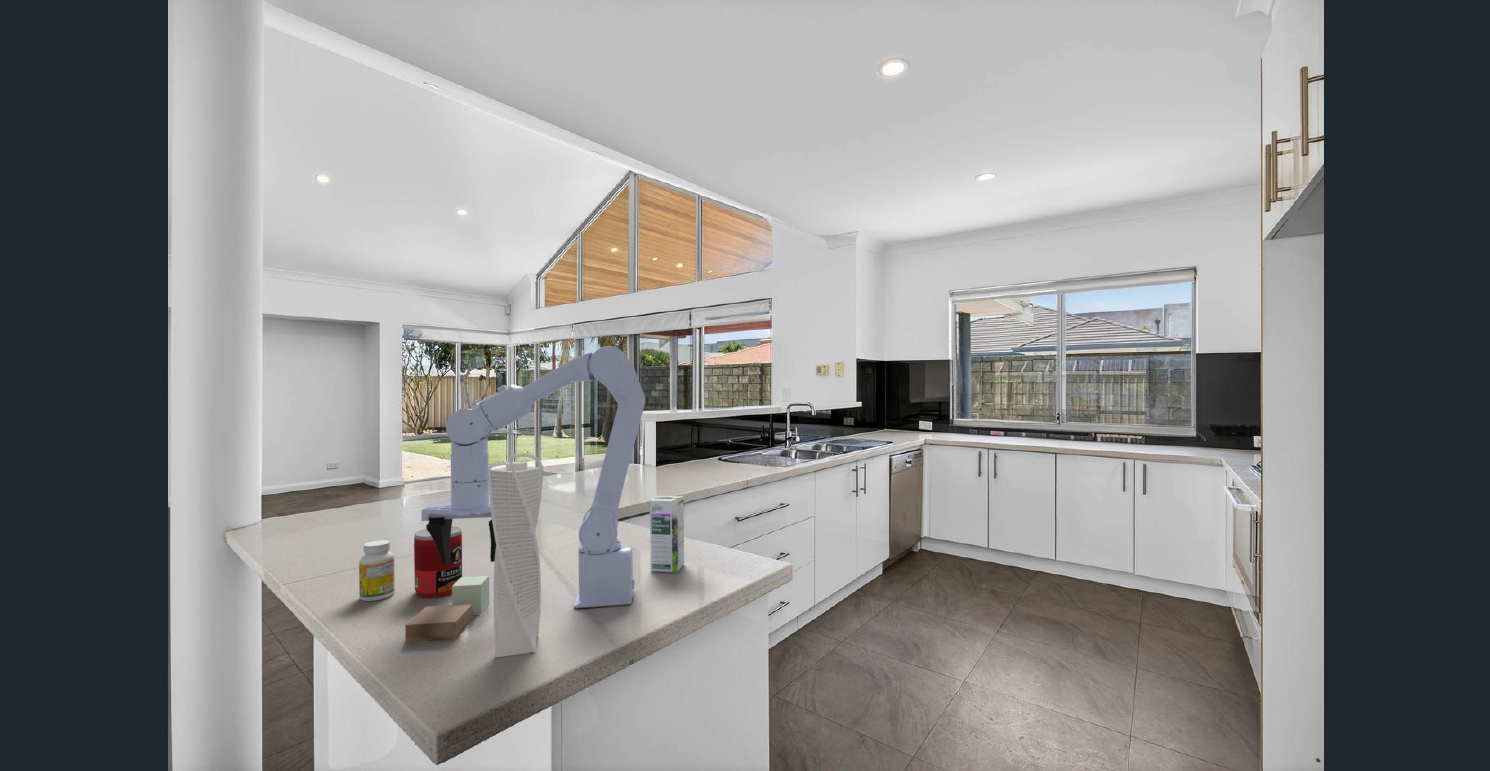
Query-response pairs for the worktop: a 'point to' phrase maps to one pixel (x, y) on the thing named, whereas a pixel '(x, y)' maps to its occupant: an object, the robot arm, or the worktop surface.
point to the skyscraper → (516, 554)
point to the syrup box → (667, 533)
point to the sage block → (472, 593)
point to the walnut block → (438, 623)
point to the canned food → (436, 564)
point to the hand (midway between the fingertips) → (470, 561)
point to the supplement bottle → (376, 571)
